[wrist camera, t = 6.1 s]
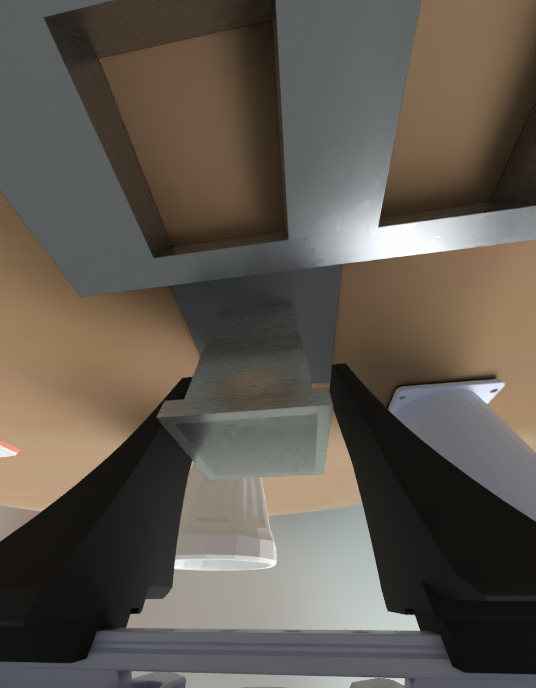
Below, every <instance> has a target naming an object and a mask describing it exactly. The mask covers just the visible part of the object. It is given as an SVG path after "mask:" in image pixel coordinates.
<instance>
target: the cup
mask: <svg viewBox="0 0 536 688" xmlns="http://www.w3.org/2000/svg"><path fill="white" fill-rule="evenodd" d="M276 563H277V559H276V545H275V543H274V540H273V535H272V533H271V531H270V525H269V519H268V513H267V507H266V501H265V495H264V489H263V483H262V477H257V478H237V479H216V480H209V479H208V478H207V477H206V475H205V474H204V473H203V472H202V471H201V470H200V468H199V467H198V466H197V465H196V464H195V463H194V464H193V466H192V468H191V470H190V472H189V475H188V480H187V485H186V490H185V495H184V501H183V507H182V513H181V519H180V526H179V533H178V540H177V548H176V556H175V565H174V569H185V570H186V569H187V570H252V569H262V568H270V567H273V566H275V565H276Z"/></svg>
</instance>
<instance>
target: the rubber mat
mask: <svg viewBox="0 0 536 688" xmlns="http://www.w3.org/2000/svg"><path fill="white" fill-rule="evenodd" d="M341 269H342V264H337V265H329V266H321V267H313V268H306V269H298V270H290V271H282V272H274V273H266V274H258V275H250V276H242V277H234V278H226V279H218V280H210V281H202V282H194V283H186V284H178V285H170V286H171V288H172V291H173V293H174V295H175V297H176V300H177V302H178V304H179V306H180V309H181V311H182V313H183V315H184V318H185V320H186V322H187V324H188V327H189V329H190V331H191V333H192V336H193V338H194V340H195V342H196V345H197V347H198V349H199V351H200V354H201V355H202V352H203V350H204V347H205V344H206V342H207V339H208V337H209V334H210V332H211V329H212V326H213V324H214V321H215V319H216V316H217V314H218V312H222V311H231V310H239V309H248V308H257V307H266V306H275V305H284V304H293V303H294V307H295V312H296V316H297V321H298V325H299V330H300V335H301V339H302V344H303V348H304V353H305V357H306V362H307V366H308V371H309V375H310V380H311V383H323V382H330V376H331V367H332V357H333V347H334V338H335V328H336V318H337V308H338V299H339V289H340V279H341Z"/></svg>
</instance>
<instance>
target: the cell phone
mask: <svg viewBox="0 0 536 688" xmlns="http://www.w3.org/2000/svg"><path fill="white" fill-rule="evenodd" d="M19 451H20V450H19V449H17V448H16V447H14V446H12V445H9V444H7V443H5V442H3V441H1V440H0V457H6V456H14V455H16V454H17V453H18V452H19Z"/></svg>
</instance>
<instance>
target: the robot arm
mask: <svg viewBox="0 0 536 688" xmlns="http://www.w3.org/2000/svg"><path fill="white" fill-rule="evenodd" d="M192 378H193V377H188V378H182V379H181V380H180V381H179V382H178V384H177V385H176V386H175V387H174V388H173V389H172V391H171V392H170V393H169V394H168V395H167V396H166V398H165V399H164V400H163V401H162V402H161V403H160V404H159V406H158V407H157V408H156V409H155V410H154V411H153V412H152V414H151V415H150V416H149V417H148V418H147V419H146V420H145V421H144V422H143V423H142V424H141V425H140V426H139V427H138V428H137V429H136V431H135V432H134V433H133V434H132V435H131V436H130V437H129V438H128V439H127V440H126V441H125V442H124V443H123V444H122V445H121V446H120V447H119V448H117V449H116V450H115V451H114V452H113V453H112V454H111V455H110V456H109V457H108V458H107V459H106V460H104V461H103V462H102V463H101V464H100V465H99V466H98V467H96V468H95V469H94V470H93V471H92V472H91V473H89V474H88V475H87V476H86V477H85V478H83V479H82V480H81V481H80V482H79V483H78V484H76V485H75V486H74V487H73V488H71V489H70V490H69V491H68V492H66V493H65V494H64V495H63V496H61V497H60V498H59V499H58V500H56V501H55V502H54V503H52V504H51V505H50V506H48V507H47V508H46V509H45V510H43V511H42V512H41V513H39V514H38V515H37V516H36V517H34V518H33V519H31V520H30V521H29V522H27V523H26V524H25V525H23V526H22V527H20V528H19V529H17V530H16V531H15V532H13V533H12V534H10V535H9V536H8V537H6V538H5V539H3V540H2V541H1V542H0V688H185V684H186V679H185V677H184V676H181V675H179V674H176V673H173V672H192V673H230V674H267V675H306V676H344V677H382V678H375V679H369V680H364V681H358V682H353V683H352V684H351V687H350V688H536V453H535V452H534V451H533V450H532V449H531V448H530V447H529V446H528V445H527V444H526V443H525V442H524V441H523V440H522V439H521V438H520V437H519V436H518V435H517V434H516V433H515V432H514V431H513V430H512V429H511V428H510V427H509V426H508V425H507V424H506V423H505V422H504V421H503V420H502V419H501V418H500V417H499V416H498V415H497V414H496V413H495V412H494V411H493V410H492V409H491V408H490V407H489V406H488V405H487V404H488V403H489V402H490V401H491V399H492V398H493V397H494V396H495V395H496V394H497V393H498V392H499V391H500V390H501V389H502V388H503V387H504V385H505V383H504V382H503V381H502V380H500V379H491V380H478V381H465V382H453V383H440V384H427V385H415V386H403V387H399V388H398V389H397V390H396V391H395V394H394V396H393V398H392V401H391V403H390V405H389V408H388V409H387V408H386V407H385V406H384V405H383V404H382V403H381V402H380V401H379V400H378V399H377V398H376V397H375V396H374V395H373V394H372V393H371V392H370V391H369V390H368V389H367V387H366V386H365V385H364V384H363V383H362V382H361V381H360V380H359V379H358V377H357V376H356V375H355V374H354V373H353V372H352V370H351V369H350V368H349V367H348V366H347V365H346V364H334V365H332V373H331V382H330V396H331V400H332V403H333V409H334V412H335V415H336V418H337V421H338V424H339V427H340V429H341V432H342V435H343V438H344V441H345V444H346V446H347V449H348V452H349V455H350V458H351V461H352V464H353V468H354V472H355V475H356V479H357V483H358V487H359V491H360V495H361V499H362V503H363V507H364V511H365V516H366V520H367V524H368V529H369V533H370V537H371V542H372V546H373V551H374V556H375V560H376V565H377V569H378V574H379V579H380V584H381V589H382V593H383V597H384V600H385V604H386V607H387V610H388V611H390V612H395V613H400V614H405V615H408V614H409V615H415V616H416V619H417V622H418V625H419V628H420V631H373V630H370V631H369V630H363V631H362V630H267V629H265V630H264V629H263V630H261V629H156V628H154V629H153V628H148V629H147V628H146V629H145V628H126V626H127V623H128V619H129V616H130V614H140V613H141V611H142V609H143V605H144V602H145V599H162V598H164V597H165V596H166V595H167V594H168V593H169V591H170V590H171V588H172V584H173V574H174V565H175V556H176V548H177V540H178V533H179V526H180V519H181V513H182V507H183V501H184V495H185V490H186V485H187V480H188V475H189V471H190V466H191V463H192V459H191V458H190V457H189V455H188V454H187V453H186V452H185V451H184V450H183V448H182V447H181V446H180V445H179V444H178V443H177V441H176V440H175V439H174V438H173V437H172V436H171V434H170V433H169V432H168V431H167V430H166V429H165V427H164V426H163V425H162V424H161V423H160V422H159V420H158V419H157V418H156V417H157V415H158V413H159V411H160V409H161V407H162V405H163V403H164V401H169V400H182V399H185V396H186V393H187V391H188V388H189V386H190V383H191V381H192ZM131 671H153V673H150V674H147V675H143V676H140V677H137V678H134V679H132V677H131ZM383 677H384V678H383ZM385 678H405V686H403V685H402V684H400V683H397V682H396V681H393V680H390V679H385ZM246 688H280V687H246Z"/></svg>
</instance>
